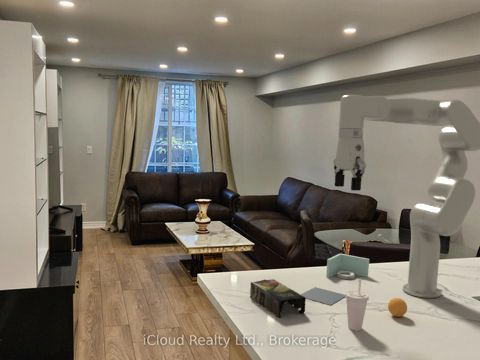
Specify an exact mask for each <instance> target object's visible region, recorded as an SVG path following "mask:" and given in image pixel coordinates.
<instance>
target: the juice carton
mask: <svg viewBox="0 0 480 360" xmlns="http://www.w3.org/2000/svg"><path fill="white" fill-rule="evenodd" d="M249 292H250V293H249V298H251V300H253V301H254V302H255V303H258V304H259V305H260V306H262V308H264V309H266V310H267V311H269V312H270V314H272V315H274V316H275V317H276V318H279V319H281V317H282V312H283V311H282V310H283V307H284V305H285V303H287V304H288V305H290V306H293V307H294V308H295V309H296V310H299V311H298V313H299V314H304V313H306V300H307V299H306V298H305V297H304V296H302V295H300V293H299V292H297V291H295V290H294V289H292V288H289V287H288V286H287V285H285V284H283V283H282V282H279V281H278V280H276V279H274V278H273V279H272V278H271V279H261V280H257V281H251V282H250V289H249Z"/></svg>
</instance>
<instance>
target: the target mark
mask: <svg viewBox="0 0 480 360" xmlns="http://www.w3.org/2000/svg"><path fill="white" fill-rule="evenodd" d="M299 294H300V293H299ZM300 295H302V296H304V297H305V298H306V300H310V301H312V302H313V301H314V302H317V303H321V304H324V305H327V306H332V305H334V304H336V303H337V302H339V301H341V300H343V299H344V298H346V297H345V295H346V294H344V293H340V292H336V291H332V290H329V289H328V290H327V289H324V288H320V287H317V286H314V287H312V288H311V289H308V290H306V291H304V292H302V293H301V294H300Z"/></svg>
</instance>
